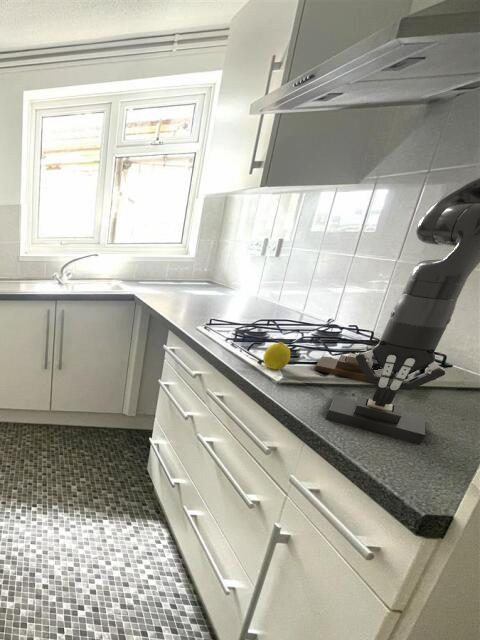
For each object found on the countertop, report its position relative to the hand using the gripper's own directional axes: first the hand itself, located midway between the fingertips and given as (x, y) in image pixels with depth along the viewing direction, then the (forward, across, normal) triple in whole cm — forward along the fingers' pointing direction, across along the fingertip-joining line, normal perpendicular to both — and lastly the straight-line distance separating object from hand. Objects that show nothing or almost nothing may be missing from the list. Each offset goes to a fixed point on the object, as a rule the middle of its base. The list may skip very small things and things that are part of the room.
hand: (379, 404), depth 83 cm
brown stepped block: (+4, +6, -30) cm, 31 cm away
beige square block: (+1, +6, -30) cm, 31 cm away
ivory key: (+2, 0, 0) cm, 2 cm away
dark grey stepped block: (+4, 0, 0) cm, 4 cm away
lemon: (+4, +21, -19) cm, 29 cm away
